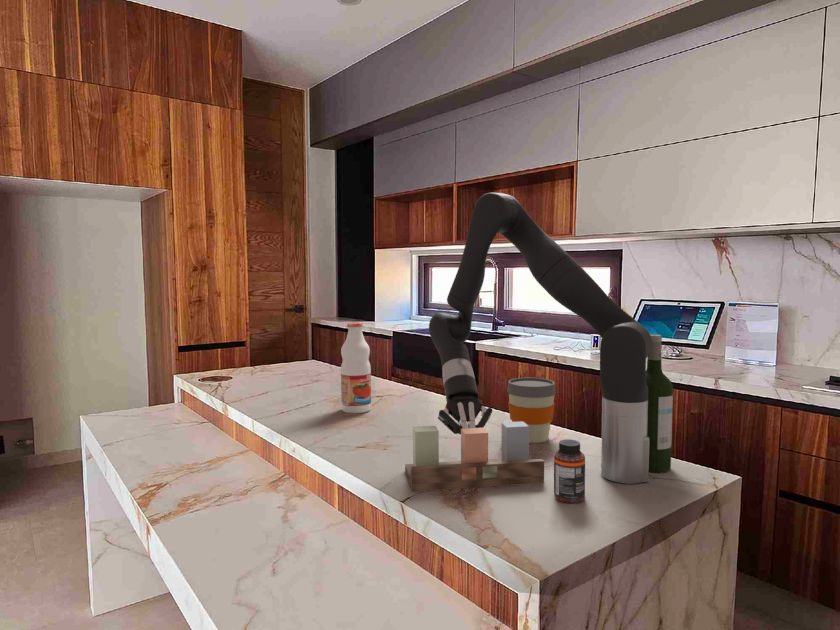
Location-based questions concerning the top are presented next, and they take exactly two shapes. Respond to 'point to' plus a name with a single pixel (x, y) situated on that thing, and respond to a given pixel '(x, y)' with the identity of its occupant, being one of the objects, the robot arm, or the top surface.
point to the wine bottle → (658, 411)
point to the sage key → (425, 446)
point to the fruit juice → (355, 371)
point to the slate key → (515, 441)
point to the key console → (474, 474)
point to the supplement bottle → (569, 472)
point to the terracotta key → (474, 445)
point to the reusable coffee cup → (532, 405)
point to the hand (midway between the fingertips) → (471, 448)
